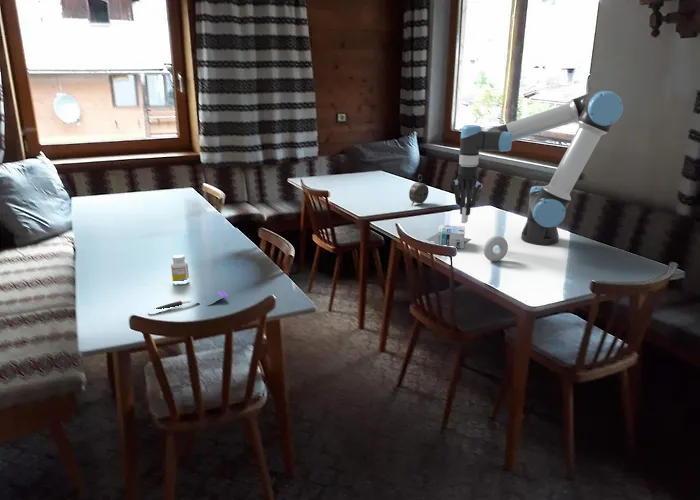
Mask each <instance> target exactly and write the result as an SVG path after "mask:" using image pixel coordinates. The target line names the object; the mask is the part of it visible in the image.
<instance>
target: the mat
mask: <svg viewBox="0 0 700 500" xmlns="http://www.w3.org/2000/svg"><path fill="white" fill-rule="evenodd" d="M437 239H438V233H436V234H434V235H432V236H430V237H428V238H426V239H425V240H428V241H429V242H430V241H434V243H435V244H437ZM469 241H471V239H470V238H468V237H464V244H465V243H467V242H469Z"/></svg>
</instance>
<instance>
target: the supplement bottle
mask: <svg viewBox="0 0 700 500" xmlns="http://www.w3.org/2000/svg"><path fill="white" fill-rule="evenodd" d="M170 268H171V277H172V282H173V281H184V280H187V279H188V278H189V279H190V275H189V267H188V262H187V260H186V256H185V254H175V255H173V256H172V262H171V264H170Z"/></svg>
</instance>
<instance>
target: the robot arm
mask: <svg viewBox="0 0 700 500" xmlns="http://www.w3.org/2000/svg"><path fill="white" fill-rule="evenodd" d="M623 112H624V104H623V101H622V98H621V97H620V96H619V95H618V94H617V93H615V92H614V91H610V90H605V89H596V90H593V91H590V92H588V93H585V94H584V95H580V96H578V97H575V98H573V99H571V100H570V101H569V102H568V103H566V104H563V105H560V106H557V107H554V108H551V109H547V110H544V111H541V112H539V113H535V114H533V115H528V116H526V117H524V118H523V117H522V118H520V119H516V120H514V121H511V122H508V123H505V124H502V125H500V126H493V127H491V128H489V129H488V130H487V131H485V130H482V127H481V125H478V124H477V125H475V124H468V125H467V124H465V125H463V126H462V127H461V132H460V141H459V143H460V145H459V158H458V159H459V160H458V161H459V162H458V164H459V165H458V172H457V173H458V176H457V177H456V179H454V180H452V181H451V182H450V183H451V185H452V187H453V192H454V199H455V204H456V205H457V206H459V214H460V215H461V221H460V222H461V224H466V223H468V221H469V220H468V218H469V216H470V215H471V208H473V207H476V204H477V200H478V198H479V194H480V191H481V189H482V188H483V187H484V183H480V181H479V179H478V173H479V166H478V165H479V160H480V159H479V157H480V151H481V152H482V151H484V152H486V151H487V152H501V153H503V152H509V151H511V150H512V142H514V141H515V142H516V141H517V140H521V139H524V138H527V137H530V136H531V137H532V136H534V135H537V134H540V133H542V132H543V133H544V132H547V131H550V130H553V129H556V128H560V127H563V126H566V125H568V124H572V123H575V124H578V128H577V130H576V132H575V133H574V135H573V137H572V139H571V142H570V143H569V145H568V147H567V150H566V151H565V153H564V154H563V156H562V158H561V160H560V162H559V164H558V166H557V168H556V170H555V171H554V173H553V176H552V178H551V179H550V182H549V183H548V184H546V185H544V186H543V185H533V186H532V187H531V186H530V187H531V188H530V191H529V200H528V209H527V219H526V222H525V225H524V227H523V228H522V231H521V236H520V239H521V240H522V241H524V242H525V243H528V244H533V245H541V246H542V245H543V246H544V245H545V246H548V245H549V246H550V245H556V244H558V243H559V239H560V238H559V237H560V235H559V232H558V231H559V230H558V225H560V224H562V222H563V221H564V220H565V217H566V209H567V208H568V206H569V205H570V202H571V201H572V198H571V192H572V191H573V188H574V186H575V185H576V183H577V181H578V179H579V177H580V175H581V174H582V172H583V170H584V168H585V166H586V164H587V162H588V161H589V159H590V157H591V155H592V154H593V151H594V150H595V148H596V146H597V145H598V143H599V141H600V139H601V137H602V136H604V135H607V134H608V133H609V132H610V130H611V128H612V126H613V124H615V123H616V122H617V121H618V120H619V119H620V118H621V116H622V114H623ZM474 187H475V189H474ZM473 190H474V192H473Z"/></svg>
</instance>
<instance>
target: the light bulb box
mask: <svg viewBox="0 0 700 500" xmlns="http://www.w3.org/2000/svg"><path fill="white" fill-rule="evenodd" d="M465 229H466V227H465V225H449V224H439V225H438V231H437V234H438V239H437V244H439V245H447V246H454V247H457V248H456V249H464V246H465V245H464V244H465V243H464V238H465V235H466V234H465Z"/></svg>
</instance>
